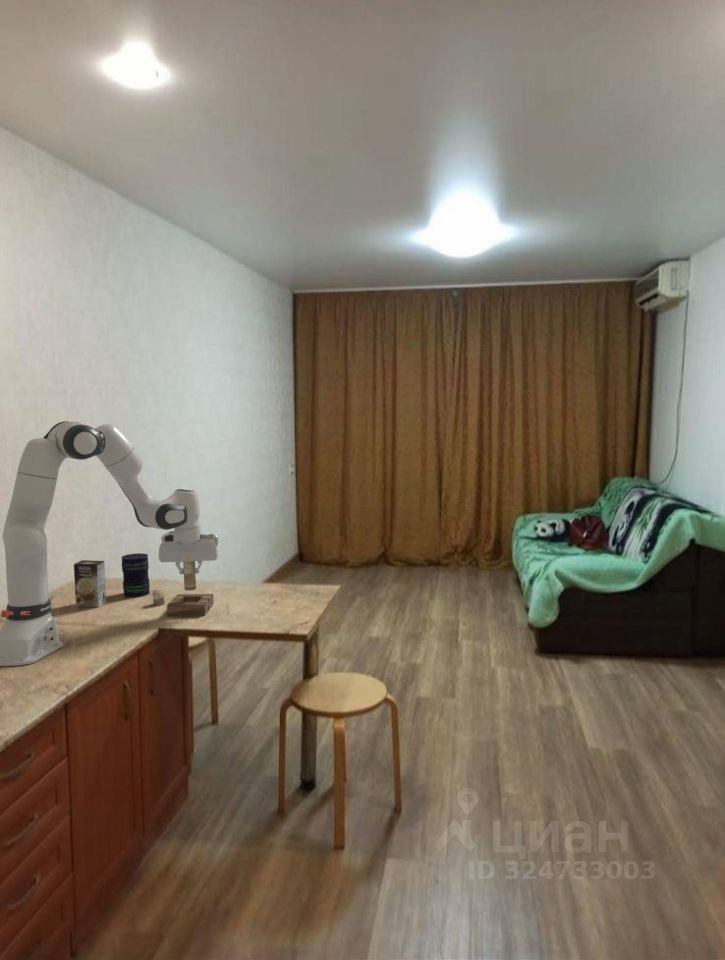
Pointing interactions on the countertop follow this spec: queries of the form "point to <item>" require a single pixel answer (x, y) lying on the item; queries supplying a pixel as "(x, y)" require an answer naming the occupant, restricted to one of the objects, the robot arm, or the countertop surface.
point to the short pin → (158, 597)
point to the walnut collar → (190, 605)
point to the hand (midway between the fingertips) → (189, 573)
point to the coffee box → (89, 583)
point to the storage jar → (135, 575)
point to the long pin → (189, 574)
